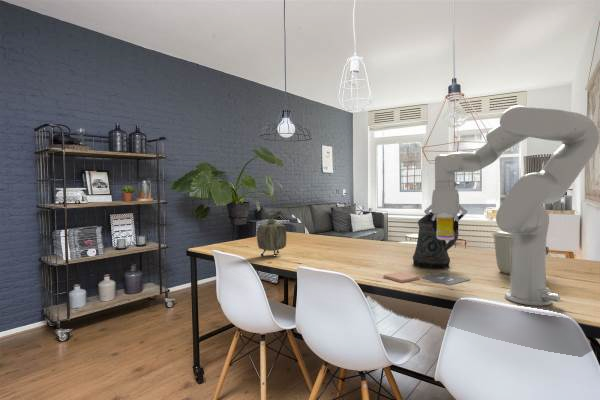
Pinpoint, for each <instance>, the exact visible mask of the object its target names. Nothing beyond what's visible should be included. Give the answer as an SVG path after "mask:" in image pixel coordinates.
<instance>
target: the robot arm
mask: <svg viewBox="0 0 600 400" xmlns="http://www.w3.org/2000/svg"><path fill="white" fill-rule="evenodd" d="M485 138H486V139H485V140H486V143H485V144H484V145H482V146H481V147H480V148H478V149H476V150H474V151H473V152H470V151H469V152H468V151H456V152H452V153H448V154H438V155H436V156H435V157H434V189H432V195H431V205H429V206H428V207H426V209H425V210H424V211H423V212H424V213H425V215H426V214H427V215H428V217H429V218H430V219H431V220H432V221H433V229H434V231H436V217H437V214H441V213H447V214H452V215H453V217H454V231H455V232H456V231H457V229H458V230H459V221H460V220H461V219H462V218H464V216H465V215H467V213H468V209H465V208H464V207H463V206H461V205H460V195H459V189H456V188H457V187H460V182H456V173H475V172H478V171H480V170H482V169H484V168H486V167H488V166H489V165H492V164H493V163H495V162H496V161H497V160H498V159H499V158H500V156H501V155H503V153H504V152H506V151H507V150H509V149H511V148H512V147H514V146H516V145H517V144H519V143H521V142H523V141H524V140H526V139H528V138H534V139H540V140H546V141H553V142H561V145H560V147H559V148H557V150H555V151H554V153H552V155H551V156H550V157H549V159H548V161H546V162H547V163H546V164H545V165H544V166H543V168H541V170H540V171H538V172H537V171H536V172H529V173H526V174H524V175H523V176H521V177H520V178H519V179H517V181H516V182H515V183H514V184H513V186H512V187H511V189H510V191H508V193H507V195H506V196H505V198H504V200H503V201H502V203H501V204H500V206H499V207H498V210H497V212H496V215H495V220H496V225H497V226H498V228H499V230H502V231H504V232H506V233H510V234H513V235H512V239H511V271H510V274H509V275H510V283H509V285H510V288H509V289H510V290H508V291H506V292H505V293H504V298H505V299H507V300H509V301H510V302H513V303H515V304H516V303H517V304H522V305H526V306H537V307H538V306H539V307H543V306H549V305H551V304H552V302H555V303H560V301H561V296H560V294H558V293H555V292H554V293H552V292H551V291H550V288H549V287H547V286H546V285H547V282H546V278H547V277H546V275H547V273H546V272H547V270H546V269H547V264H546V263H547V259H546V257H547V237H548V231H549V226H550V215H549V213H548V210H547V209H546V208H545V206H543V205H547V204H554V203H557V202H558V201H560V200H561V199H562V198H563V197H564V196H565V194H566V193H567V191H568V190H569V189H570V187H571V186H572V185H573V183H574V182H575V181H576V179H577V178H578V176H579V175H580V174H581V172H582V170H583V169H584V168H585V167H586V165H587V164H588V163H589V162H590V160H591V159H592V157H593V156H594V154H595V152H596V151H597V149H598V146H599V144H600V131H599V129H598V126H597V125H596V124H595V122H594V121H593V120H592V119H591V118H589V117H588V116H586V115H585V114H582V113H579V112H573V111H567V110H563V109H555V108H554V109H553V108H545V107H544V108H543V107H533V106H531V107H530V106H524V105H513V106H511V107H509V108H508V109H506V110H505V111H504V112H503V113H502V114H501V116H500V119H499V124H498V125H496V126H495V127H493V128H491V130H489V131H488V132H487V133H486V135H485ZM460 211H461V212H462V213H461V214H460V215H458V214H459V213H460ZM429 212H432V213H433V214H434V215H433V216H432V215H431V214H430V213H429Z"/></svg>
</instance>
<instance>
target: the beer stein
mask: <svg viewBox="0 0 600 400" xmlns="http://www.w3.org/2000/svg"><path fill="white" fill-rule="evenodd" d="M429 213H430V214H431V215H432V216H433V215H434V214H433V213H432V211H429ZM417 224H418V227H419V229H418V232H417V233H418V234H417V235H418V236H417V241H416V246H415V250H414V253H413V256H412V261H413V262H412V265H414V266H415V267H417V268H421V269H428V270H445V269H448V268H449V267H450V263H451V259H450V256H449V252H448V250H449V249H451V248H452V247H453V246H454V245H455V243H456V242H457V240H458V237H459V228H458V229H457V231H456V232H455V231H454V234H455V237H454V239H453V240H448V242H447V240H440V239H437V234H436V231H434V229H433V221H432V220H431V219H430V218H429V217H428V215H427V214H426V213H425V215H424V216H422V217H421V218H420V219H419V220H418V222H417Z"/></svg>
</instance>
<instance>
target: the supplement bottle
mask: <svg viewBox="0 0 600 400" xmlns="http://www.w3.org/2000/svg"><path fill="white" fill-rule="evenodd" d="M454 221H455V219H454V217H453V215H452V214H447V213H441V214H437V217H436V234H437V239H440V240H446V241H450V240H453V239H454V237H455V234H454Z"/></svg>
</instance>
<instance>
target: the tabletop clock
mask: <svg viewBox="0 0 600 400" xmlns="http://www.w3.org/2000/svg"><path fill="white" fill-rule="evenodd" d="M269 213H275V216H273V215H271V216H268V214H269ZM277 217H278V213H277V212H276V211H275V210H269V211H267V212H266V218H268V221H267V223H261V224H259V225H258V228H257V231H256V240H257V241H256V242H257V246H258V249H260V250H263V251H262V253H260V256H261V257H264V254H265V253H266V252H268V251H269V252H273V256H274V255H276V256H277V253H279V254H280V251H279V250H283V249H284V248H286V246H287V229H286V226H285V224H283V223H282V224H281V223H277V220H276V219H275V218H277Z"/></svg>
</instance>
